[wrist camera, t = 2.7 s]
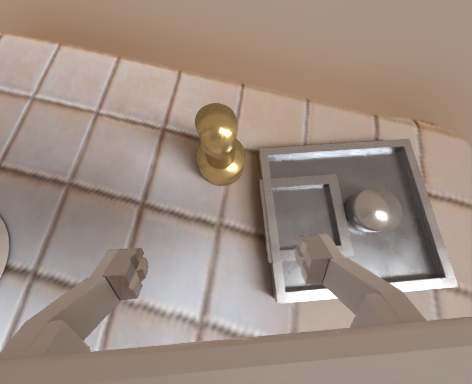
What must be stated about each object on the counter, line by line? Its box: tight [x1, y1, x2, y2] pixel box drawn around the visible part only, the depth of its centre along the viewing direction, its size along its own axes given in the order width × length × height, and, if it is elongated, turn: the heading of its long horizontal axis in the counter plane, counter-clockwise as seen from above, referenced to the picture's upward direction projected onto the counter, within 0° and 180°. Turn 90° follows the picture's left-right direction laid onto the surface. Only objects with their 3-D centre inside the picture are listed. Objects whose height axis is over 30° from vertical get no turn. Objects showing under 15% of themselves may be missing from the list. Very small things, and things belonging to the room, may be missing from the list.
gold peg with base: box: [195, 103, 245, 186], centre depth 22 cm, size 6×6×10 cm
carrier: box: [257, 139, 458, 304], centre depth 23 cm, size 20×18×4 cm
